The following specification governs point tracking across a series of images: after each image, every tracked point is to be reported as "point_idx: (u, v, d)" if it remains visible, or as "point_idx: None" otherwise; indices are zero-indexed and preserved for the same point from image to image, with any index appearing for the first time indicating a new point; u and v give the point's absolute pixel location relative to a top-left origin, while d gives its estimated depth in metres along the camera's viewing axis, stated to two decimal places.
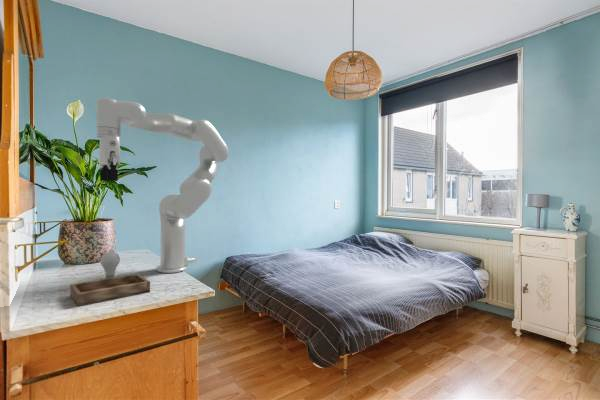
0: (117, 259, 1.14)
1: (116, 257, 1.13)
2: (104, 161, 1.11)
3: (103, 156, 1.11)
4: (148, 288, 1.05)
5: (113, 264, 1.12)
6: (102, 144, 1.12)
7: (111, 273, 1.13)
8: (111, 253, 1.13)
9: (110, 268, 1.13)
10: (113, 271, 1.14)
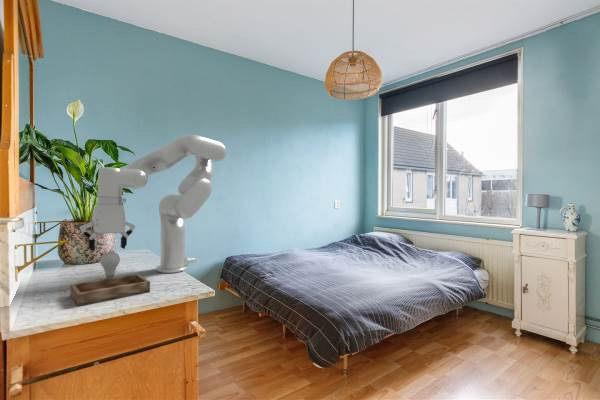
0: (117, 259, 1.14)
1: (116, 257, 1.13)
2: (119, 230, 1.14)
3: (118, 226, 1.13)
4: (148, 288, 1.05)
5: (113, 264, 1.12)
6: (116, 214, 1.13)
7: (111, 273, 1.13)
8: (111, 253, 1.13)
9: (110, 268, 1.13)
10: (113, 271, 1.14)
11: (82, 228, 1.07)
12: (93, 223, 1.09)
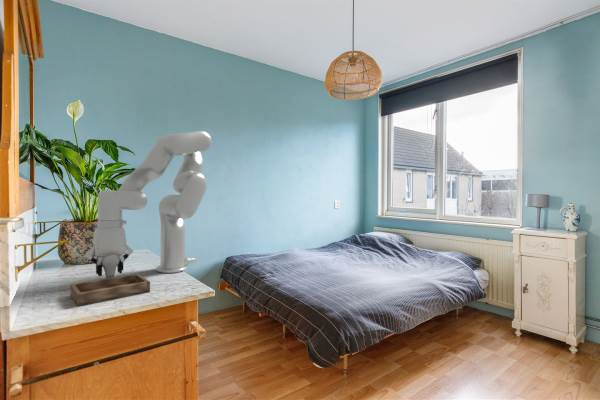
0: (117, 259, 1.14)
1: (116, 257, 1.13)
2: (120, 252, 1.15)
3: (119, 248, 1.14)
4: (148, 288, 1.05)
5: (113, 264, 1.12)
6: (117, 236, 1.13)
7: (111, 273, 1.13)
8: None
9: (110, 268, 1.13)
10: (113, 271, 1.14)
11: (87, 256, 1.09)
12: (94, 247, 1.10)
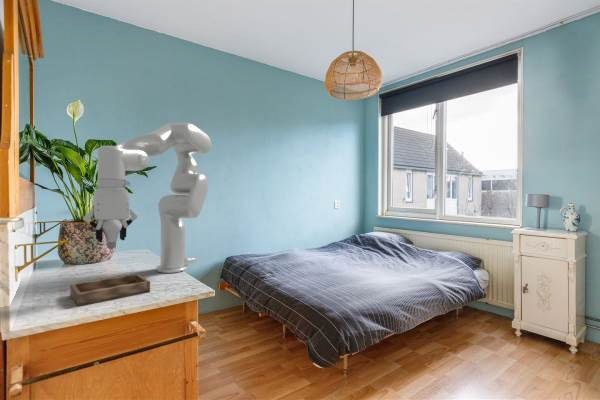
0: (119, 224, 1.01)
1: (118, 221, 1.01)
2: (123, 217, 1.02)
3: (122, 211, 1.02)
4: (148, 288, 1.05)
5: (114, 229, 1.00)
6: (119, 198, 1.01)
7: (112, 239, 1.01)
8: None
9: (111, 233, 1.00)
10: (115, 237, 1.01)
11: (86, 218, 0.96)
12: (94, 208, 0.97)
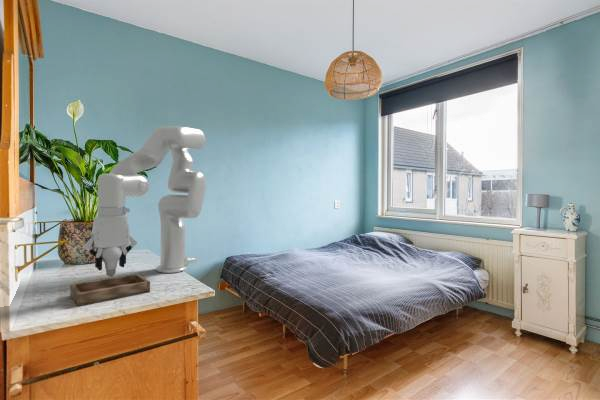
0: (119, 251, 1.01)
1: (118, 249, 1.01)
2: (123, 244, 1.02)
3: (121, 239, 1.02)
4: (148, 288, 1.05)
5: (114, 257, 1.00)
6: (119, 226, 1.01)
7: (112, 267, 1.01)
8: None
9: (111, 261, 1.00)
10: (115, 264, 1.01)
11: (86, 247, 0.96)
12: (93, 237, 0.97)
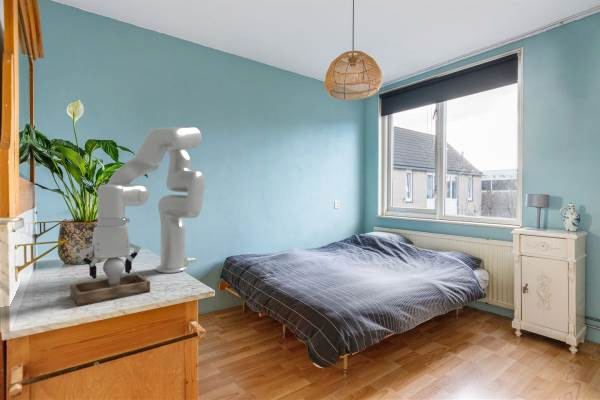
0: (122, 265, 1.02)
1: (121, 263, 1.02)
2: (123, 254, 1.03)
3: (122, 249, 1.02)
4: (148, 288, 1.05)
5: (117, 271, 1.01)
6: (119, 236, 1.01)
7: (115, 281, 1.02)
8: (115, 258, 1.02)
9: (114, 275, 1.01)
10: (118, 278, 1.02)
11: (82, 254, 0.96)
12: (94, 248, 0.97)
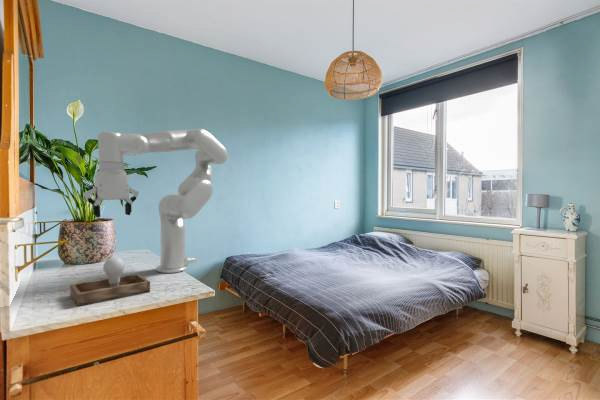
0: (122, 265, 1.02)
1: (121, 263, 1.02)
2: (123, 196, 1.12)
3: (122, 191, 1.12)
4: (148, 288, 1.05)
5: (117, 271, 1.01)
6: (120, 179, 1.11)
7: (115, 281, 1.02)
8: (115, 258, 1.02)
9: (114, 275, 1.01)
10: (118, 278, 1.02)
11: (86, 194, 1.05)
12: (97, 189, 1.07)
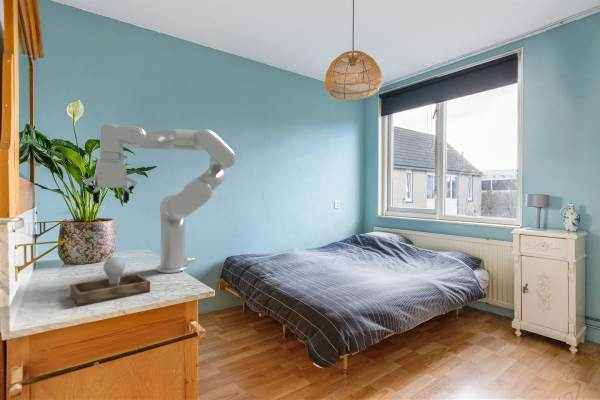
0: (122, 265, 1.02)
1: (121, 263, 1.02)
2: (121, 185, 1.20)
3: (120, 180, 1.19)
4: (148, 288, 1.05)
5: (117, 271, 1.01)
6: (118, 169, 1.19)
7: (115, 281, 1.02)
8: (115, 258, 1.02)
9: (114, 275, 1.01)
10: (118, 278, 1.02)
11: (86, 181, 1.13)
12: (97, 177, 1.15)
